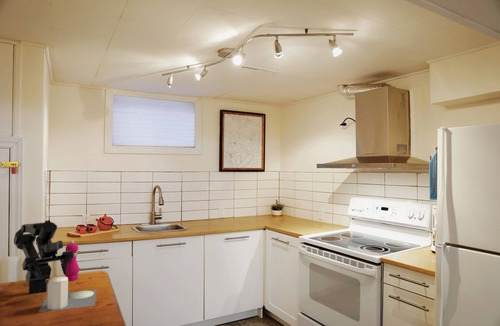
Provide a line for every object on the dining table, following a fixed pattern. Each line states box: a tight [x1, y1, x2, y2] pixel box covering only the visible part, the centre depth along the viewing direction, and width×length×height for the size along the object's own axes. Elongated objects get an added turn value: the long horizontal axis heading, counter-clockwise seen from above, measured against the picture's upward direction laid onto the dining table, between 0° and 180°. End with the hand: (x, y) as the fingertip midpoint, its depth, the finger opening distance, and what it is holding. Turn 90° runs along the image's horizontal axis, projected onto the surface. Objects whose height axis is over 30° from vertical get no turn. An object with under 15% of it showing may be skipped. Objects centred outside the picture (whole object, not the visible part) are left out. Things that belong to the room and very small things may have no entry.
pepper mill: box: [64, 240, 80, 282], centre depth 177 cm, size 7×7×20 cm
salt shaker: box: [47, 275, 69, 310], centre depth 139 cm, size 7×7×11 cm
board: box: [37, 289, 98, 313], centre depth 146 cm, size 20×20×1 cm
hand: (53, 276), depth 143 cm, fingers open, 9 cm apart
